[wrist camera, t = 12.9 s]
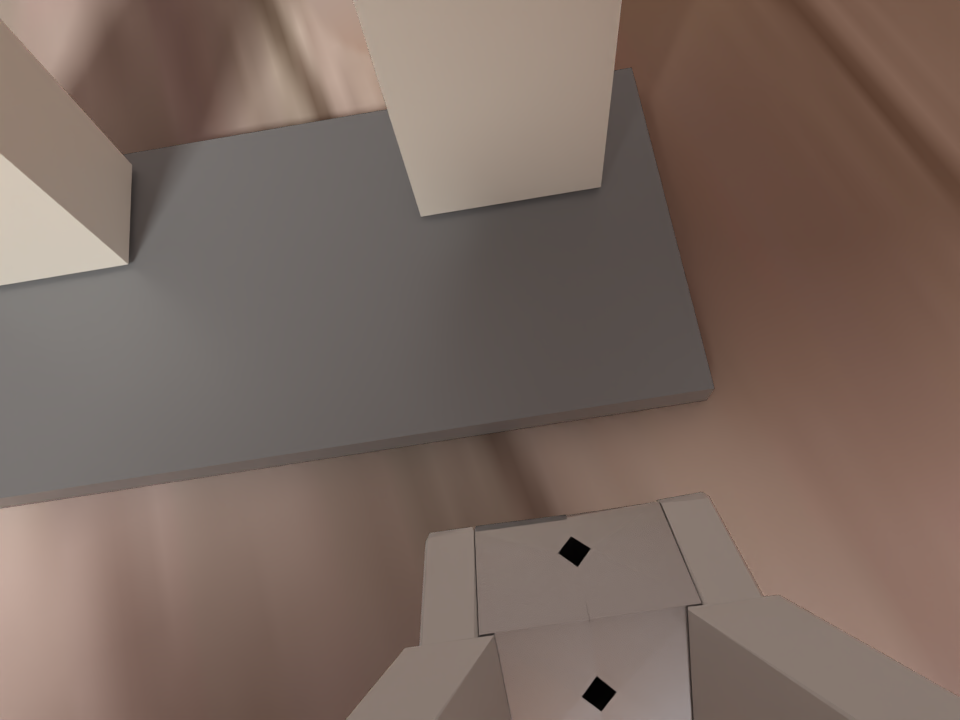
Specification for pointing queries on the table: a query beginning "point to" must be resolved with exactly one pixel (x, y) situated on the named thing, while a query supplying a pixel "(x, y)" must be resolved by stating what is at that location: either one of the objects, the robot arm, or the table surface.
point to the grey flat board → (339, 313)
